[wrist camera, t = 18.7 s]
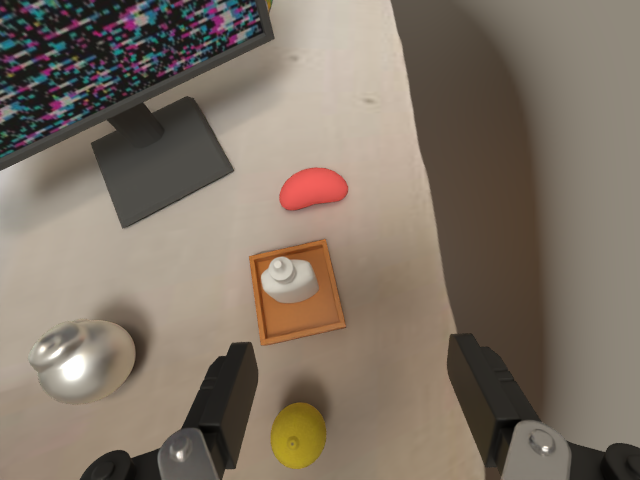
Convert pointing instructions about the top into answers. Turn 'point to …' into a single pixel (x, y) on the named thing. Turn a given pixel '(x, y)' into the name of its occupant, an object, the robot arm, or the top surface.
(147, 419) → the top surface
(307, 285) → the eye dropper bottle
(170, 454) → the robot arm
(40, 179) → the top surface
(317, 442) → the lemon
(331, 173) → the red kidney bean shape
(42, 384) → the silver rounded lump
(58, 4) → the computer monitor
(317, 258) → the amber tray
